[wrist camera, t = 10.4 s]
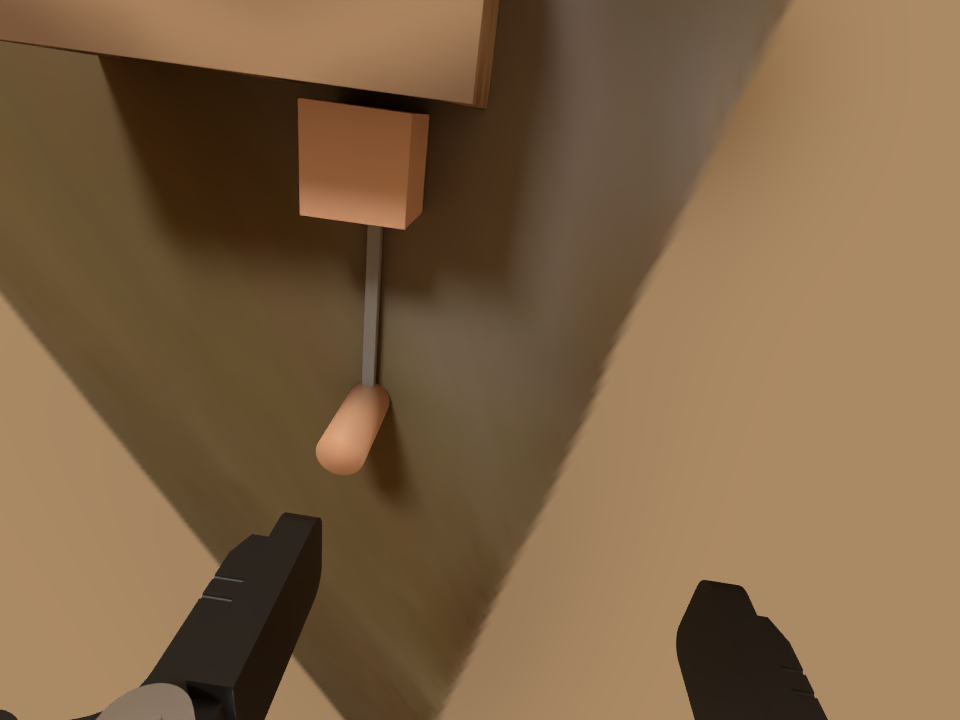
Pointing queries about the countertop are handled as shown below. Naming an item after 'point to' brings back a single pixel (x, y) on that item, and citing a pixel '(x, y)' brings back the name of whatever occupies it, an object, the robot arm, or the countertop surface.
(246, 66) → the walnut shelf
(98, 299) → the countertop surface
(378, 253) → the tethered block
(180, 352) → the countertop surface
